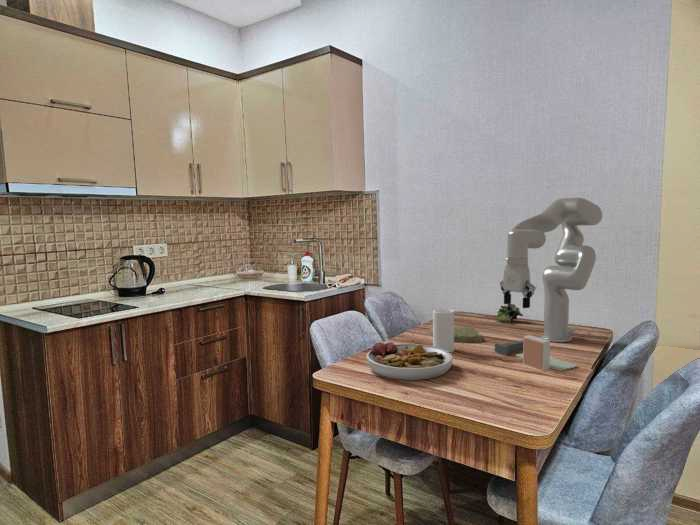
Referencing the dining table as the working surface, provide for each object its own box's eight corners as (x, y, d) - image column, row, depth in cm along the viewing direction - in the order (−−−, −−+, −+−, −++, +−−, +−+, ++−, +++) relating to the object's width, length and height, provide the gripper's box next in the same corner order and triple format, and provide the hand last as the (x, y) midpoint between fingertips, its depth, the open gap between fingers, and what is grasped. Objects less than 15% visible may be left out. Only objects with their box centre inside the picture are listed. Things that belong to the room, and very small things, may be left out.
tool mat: (532, 352, 178) (532, 351, 177) (578, 367, 160) (578, 365, 160) (515, 356, 174) (515, 354, 174) (560, 371, 156) (560, 369, 156)
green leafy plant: (511, 331, 234) (525, 312, 233) (510, 331, 224) (525, 312, 222) (492, 317, 238) (506, 298, 237) (490, 317, 228) (505, 298, 226)
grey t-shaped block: (523, 346, 186) (523, 338, 186) (534, 350, 181) (535, 341, 181) (494, 352, 180) (494, 343, 179) (506, 356, 174) (506, 347, 174)
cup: (455, 348, 186) (455, 309, 184) (451, 353, 178) (451, 313, 177) (435, 346, 189) (435, 308, 188) (430, 351, 182) (430, 312, 180)
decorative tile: (429, 333, 213) (429, 325, 213) (472, 332, 213) (472, 325, 212) (435, 344, 195) (435, 335, 194) (483, 343, 194) (483, 335, 194)
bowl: (463, 363, 168) (463, 342, 167) (434, 389, 142) (434, 365, 141) (389, 352, 183) (388, 333, 182) (351, 374, 157) (351, 352, 157)
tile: (529, 362, 166) (529, 335, 166) (549, 369, 158) (550, 340, 157) (522, 363, 165) (522, 336, 164) (542, 370, 157) (543, 342, 156)
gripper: (494, 261, 183) (493, 303, 185) (527, 264, 168) (526, 310, 169) (508, 260, 187) (507, 301, 188) (542, 263, 171) (541, 308, 173)
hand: (516, 305), depth 179 cm, fingers open, 9 cm apart
